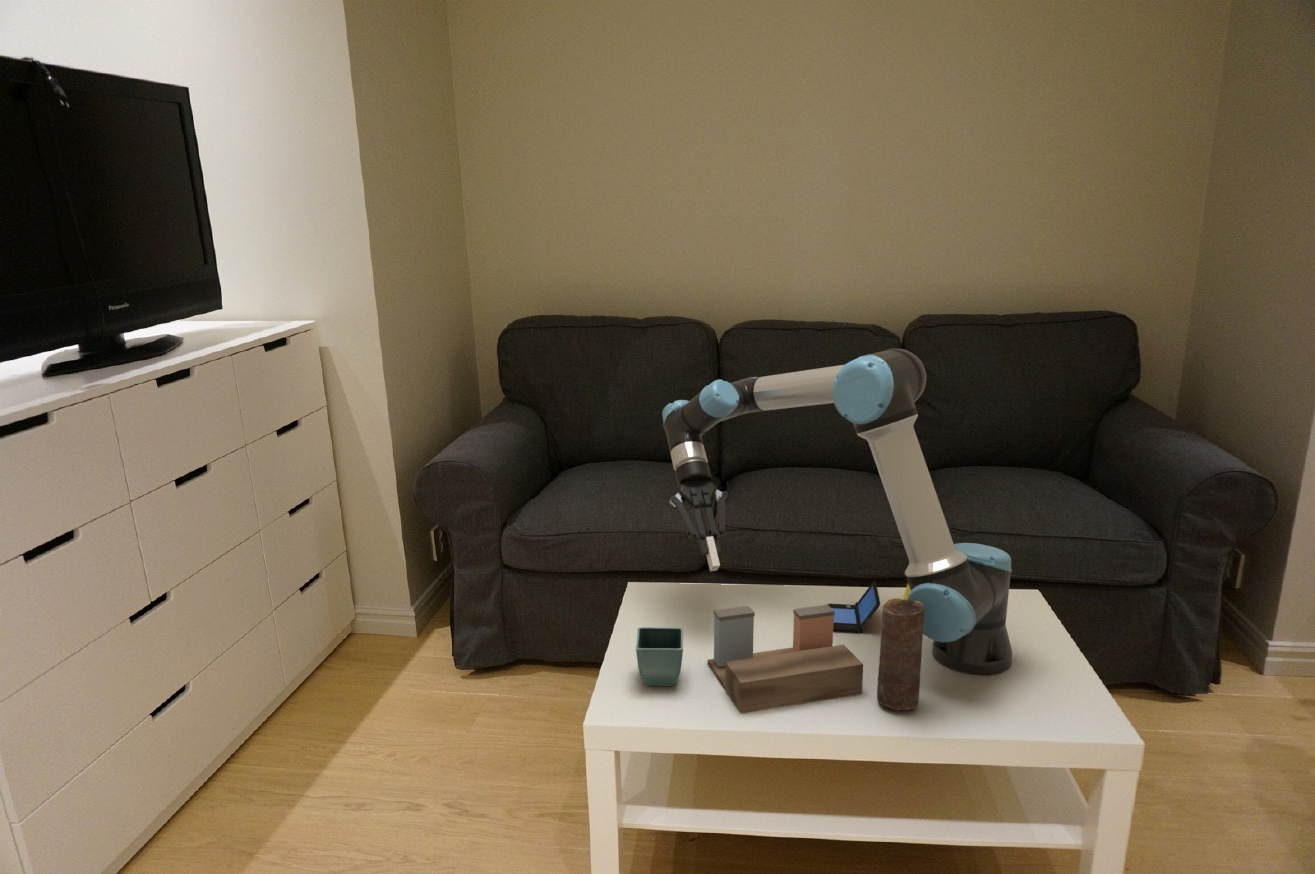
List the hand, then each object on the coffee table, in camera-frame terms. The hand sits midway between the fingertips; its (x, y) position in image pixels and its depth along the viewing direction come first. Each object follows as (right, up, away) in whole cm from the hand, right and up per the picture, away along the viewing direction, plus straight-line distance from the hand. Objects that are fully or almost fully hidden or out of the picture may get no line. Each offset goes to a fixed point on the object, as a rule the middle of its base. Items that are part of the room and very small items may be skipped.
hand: (715, 568), depth 187 cm
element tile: (+50, -13, +15) cm, 54 cm away
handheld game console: (+31, -14, +13) cm, 36 cm away
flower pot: (-11, -20, -11) cm, 26 cm away
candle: (+32, -22, -21) cm, 44 cm away
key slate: (+3, -17, -7) cm, 19 cm away
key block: (+12, -19, -11) cm, 25 cm away
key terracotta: (+19, -17, -7) cm, 26 cm away
